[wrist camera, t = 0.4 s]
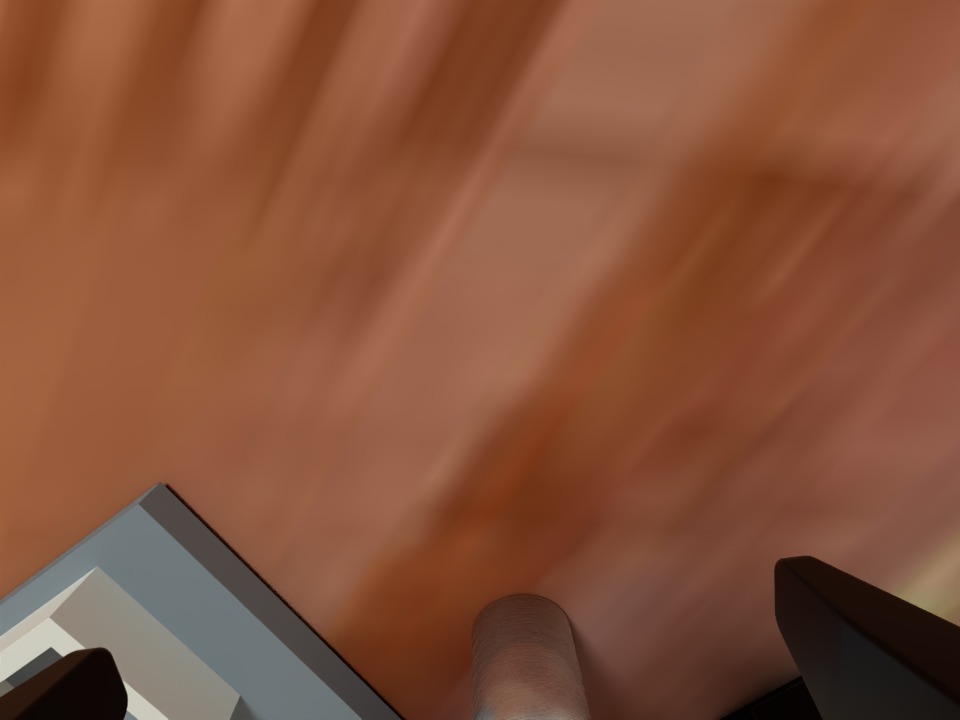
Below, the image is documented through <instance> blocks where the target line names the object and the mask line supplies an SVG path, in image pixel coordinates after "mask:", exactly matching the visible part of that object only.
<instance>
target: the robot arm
mask: <svg viewBox="0 0 960 720" xmlns="http://www.w3.org/2000/svg"><path fill="white" fill-rule="evenodd" d="M774 581H775V616H776V621H777V624H778V627H779V630H780V632H781V634H782V636H783V639H784V641H785V643H786V645H787V647H788V649H789V651H790V653H791V655H792V657H793V659H794V661H795V663H796V665H797V667H798V669H799V671H800V673H801V677H799V678H797V679H795V680H793V681H791V682H789V683H788V684H786V685H784V686H782V687H780V688H778V689H776V690H775V691H773V692H771V693H769V694H767V695H765V696H763V697H762V698H760V699H758V700H756V701H754V702H752V703H750V704H749V705H747V706H745V707H743V708H741V709H739V710H737V711H735V712H734V713H732V714H730V715H728V716H726V717H724V718H722V719H721V720H960V627H959V626H957V625H955V624H953V623H951V622H949V621H947V620H945V619H942V618H940V617H938V616H936V615H934V614H932V613H930V612H928V611H926V610H924V609H921V608H919V607H917V606H915V605H913V604H911V603H909V602H907V601H905V600H903V599H900V598H898V597H896V596H894V595H892V594H890V593H888V592H886V591H884V590H881V589H879V588H877V587H875V586H873V585H871V584H869V583H867V582H865V581H863V580H860V579H858V578H856V577H854V576H852V575H850V574H848V573H846V572H844V571H841V570H839V569H837V568H835V567H833V566H831V565H829V564H827V563H825V562H823V561H820V560H818V559H816V558H814V557H811V556H798V557H790V558H782V559H780V560H778V561H777V562H776V565H775V570H774ZM127 707H128V694H127V691H126V688H125V686H124V683H123V681H122V678H121V676H120V673H119V671H118V668H117V666H116V663H115V661H114V658H113V656H112V654H111V652H110V651H109V650H108V649H106V648H103V647H97V648H89V649H81V650H76V651H73V652H71V653H69V654H67V655H66V656H64V657H62V658H61V659H59V660H58V661H56V662H54V663H53V664H51V665H50V666H48V667H47V668H45V669H43V670H42V671H40V672H39V673H37V674H36V675H34V676H32V677H31V678H29V679H28V680H26V681H25V682H23V683H21V684H20V685H18V686H17V687H15V688H13V689H12V690H10V691H9V692H7V693H6V694H4V695H2V696H1V697H0V720H124V718H125V715H126V712H127Z"/></svg>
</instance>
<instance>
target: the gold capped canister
mask: <svg viewBox="0 0 960 720" xmlns="http://www.w3.org/2000/svg"><path fill="white" fill-rule="evenodd" d="M471 652H472V720H591V716H590V711H589V707H588V703H587V698H586V694H585V689H584V685H583V681H582V676H581V672H580V668H579V663H578V659H577V655H576V650H575V646H574V641H573V637H572V633H571V628H570V624H569V621H568V619H567V617H566V615H565V614H564V612H563V611H562V610H561V609H560V608H559V607H558V606H557V605H556V604H554V603H553V602H551V601H549V600H547V599H545V598H543V597H539V596H536V595H529V594H516V595H510V596H507V597H503V598H501V599H498V600H496V601H494V602H492V603H491V604H490V605H488V606H487V607H486V608H485V609H483V610H482V612H481V613H480V614H479V615H478V617H477V618H476V620H475V622H474V624H473V628H472V634H471Z"/></svg>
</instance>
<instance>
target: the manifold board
mask: <svg viewBox="0 0 960 720" xmlns="http://www.w3.org/2000/svg"><path fill="white" fill-rule="evenodd" d="M97 647H103V648H106V649H108V650H109V651H110V652H111V654H112V656H113V658H114V661H115V663H116V666H117V668H118V671H119V673H120V676H121V678H122V681H123V683H124V686H125V688H126V691H127V694H128V707H127V712H126V715H125V718H124V720H401V719H400V718H399V717H398V716H397V715H396V714H395V713H394V712H393V711H392V710H391V709H390V708H389V707H388V706H387V705H386V704H385V703H384V702H383V701H382V700H381V699H380V698H379V697H378V696H377V695H376V694H375V693H374V692H373V691H372V690H371V689H370V688H369V687H368V686H367V685H366V684H365V683H364V682H363V681H362V680H361V679H360V678H359V677H358V676H357V675H356V674H355V673H354V672H353V671H352V670H350V669H349V668H348V667H347V666H346V665H345V664H344V663H343V662H342V661H341V660H340V659H339V658H338V657H337V656H336V655H335V654H334V653H333V652H332V651H331V650H330V649H329V648H328V647H327V646H326V645H325V644H324V643H323V642H322V641H321V640H320V639H319V638H318V637H317V636H316V635H315V634H314V633H313V632H312V631H311V630H310V629H309V628H308V627H307V626H306V625H305V624H304V623H303V622H302V621H301V620H300V619H299V618H298V617H297V616H296V615H295V614H294V613H293V612H292V611H291V610H290V609H289V608H288V607H287V606H286V605H285V604H284V603H283V602H282V601H281V600H280V599H279V598H278V597H277V596H276V595H275V594H273V593H272V592H271V591H270V590H269V589H268V588H267V587H266V586H265V585H264V584H263V583H262V582H261V581H260V580H259V579H258V578H257V577H256V576H255V575H254V574H253V573H252V572H251V571H250V570H249V569H248V568H247V567H246V566H245V565H244V564H243V563H242V562H241V561H240V560H239V559H238V558H237V557H236V556H235V555H234V554H233V553H232V552H231V551H230V550H229V549H228V548H227V547H226V546H225V545H224V544H223V543H222V542H221V541H220V540H219V539H218V538H217V537H216V536H215V535H214V534H213V533H212V532H211V531H210V530H209V529H208V528H207V527H206V526H205V525H204V524H203V523H202V522H201V521H200V520H199V519H198V518H197V517H195V516H194V515H193V514H192V513H191V512H190V511H189V510H188V509H187V508H186V507H185V506H184V505H183V504H182V503H181V502H180V501H179V500H178V499H177V498H176V497H175V496H174V495H173V494H172V493H171V492H170V491H169V490H168V489H167V488H166V487H165V486H164V485H163V484H162V483H161V482H159V483H158V484H157V485H155V486H154V487H153V488H151V489H150V490H149V491H147V492H146V493H145V494H143V495H142V496H140V497H139V498H138V499H136V500H135V501H134V502H132V503H131V504H130V505H128V506H127V507H126V508H124V509H123V510H121V511H120V512H119V513H117V514H116V515H115V516H113V517H112V518H111V519H109V520H108V521H107V522H105V523H104V524H103V525H101V526H100V527H98V528H97V529H96V530H94V531H93V532H92V533H90V534H89V535H88V536H86V537H85V538H84V539H82V540H81V541H79V542H78V543H77V544H75V545H74V546H73V547H71V548H70V549H69V550H67V551H66V552H65V553H63V554H62V555H61V556H59V557H58V558H56V559H55V560H54V561H52V562H51V563H50V564H48V565H47V566H46V567H44V568H43V569H42V570H40V571H39V572H38V573H36V574H35V575H33V576H32V577H31V578H29V579H28V580H27V581H25V582H24V583H23V584H21V585H20V586H19V587H17V588H16V589H14V590H13V591H12V592H10V593H9V594H8V595H6V596H5V597H4V598H2V599H1V600H0V697H1V696H2V695H4V694H6V693H7V692H9V691H10V690H12V689H13V688H15V687H17V686H18V685H20V684H21V683H23V682H25V681H26V680H28V679H29V678H31V677H32V676H34V675H36V674H37V673H39V672H40V671H42V670H43V669H45V668H47V667H48V666H50V665H51V664H53V663H54V662H56V661H58V660H59V659H61V658H62V657H64V656H66V655H67V654H69V653H71V652H73V651H76V650H81V649H89V648H97Z"/></svg>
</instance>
